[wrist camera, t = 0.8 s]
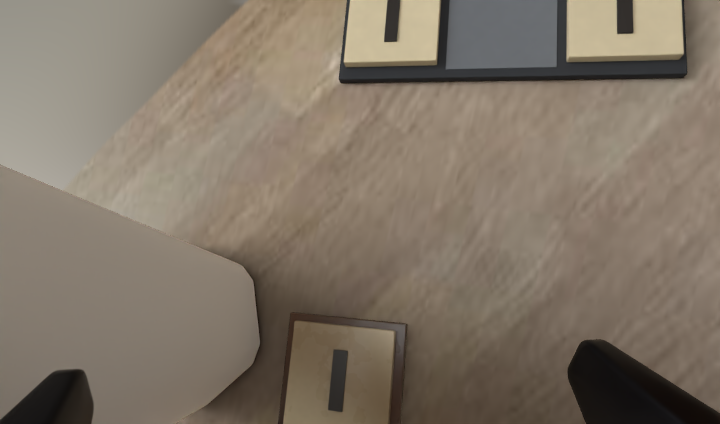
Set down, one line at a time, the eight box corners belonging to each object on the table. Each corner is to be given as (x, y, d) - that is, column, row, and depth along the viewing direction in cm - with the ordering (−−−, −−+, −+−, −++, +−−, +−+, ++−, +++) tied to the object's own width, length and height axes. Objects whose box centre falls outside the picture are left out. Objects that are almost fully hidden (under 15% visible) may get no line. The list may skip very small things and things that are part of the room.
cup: (221, 169, 23) (-393, -162, 7) (346, 332, 20) (-263, 429, 4) (62, 317, 24) (-846, 331, 7) (159, 498, 20) (-1077, 1213, 4)
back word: (683, 78, 20) (694, 66, 19) (340, 83, 23) (335, 73, 22) (678, -39, 21) (688, -56, 20) (351, -18, 24) (346, -31, 23)
